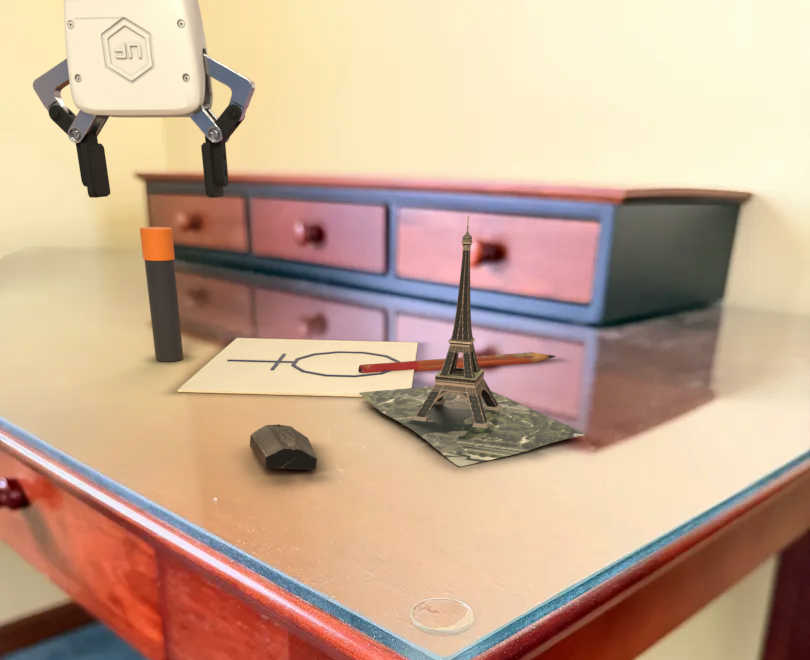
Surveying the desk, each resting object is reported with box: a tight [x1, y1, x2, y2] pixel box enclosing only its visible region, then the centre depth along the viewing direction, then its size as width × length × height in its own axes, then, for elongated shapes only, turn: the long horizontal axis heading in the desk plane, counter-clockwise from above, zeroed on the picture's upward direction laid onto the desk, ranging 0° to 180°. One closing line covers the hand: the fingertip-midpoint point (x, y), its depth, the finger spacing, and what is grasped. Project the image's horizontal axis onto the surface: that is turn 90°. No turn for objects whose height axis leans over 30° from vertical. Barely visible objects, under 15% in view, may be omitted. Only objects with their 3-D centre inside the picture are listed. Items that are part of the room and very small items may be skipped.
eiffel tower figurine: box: [359, 215, 588, 468], centre depth 54 cm, size 15×10×13 cm
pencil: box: [358, 351, 556, 373], centre depth 72 cm, size 19×1×1 cm, turn 111°
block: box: [249, 423, 318, 471], centre depth 49 cm, size 4×6×2 cm, turn 18°
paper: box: [177, 337, 419, 398], centre depth 72 cm, size 18×20×1 cm
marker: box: [139, 226, 184, 363], centre depth 71 cm, size 3×3×11 cm
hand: (157, 196), depth 68 cm, fingers open, 9 cm apart
